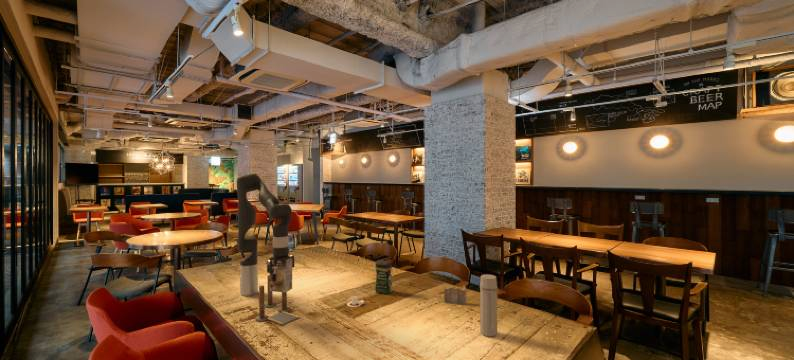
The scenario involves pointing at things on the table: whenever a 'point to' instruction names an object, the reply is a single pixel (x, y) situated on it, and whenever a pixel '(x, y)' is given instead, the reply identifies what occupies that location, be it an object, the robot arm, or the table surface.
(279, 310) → the post
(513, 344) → the table surface
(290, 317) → the pad
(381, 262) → the coffee jar
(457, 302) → the architectural model on board
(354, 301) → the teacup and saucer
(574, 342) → the table surface
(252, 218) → the robot arm
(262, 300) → the post
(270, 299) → the post
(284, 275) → the coffee box
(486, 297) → the water bottle
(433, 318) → the table surface
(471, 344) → the table surface
